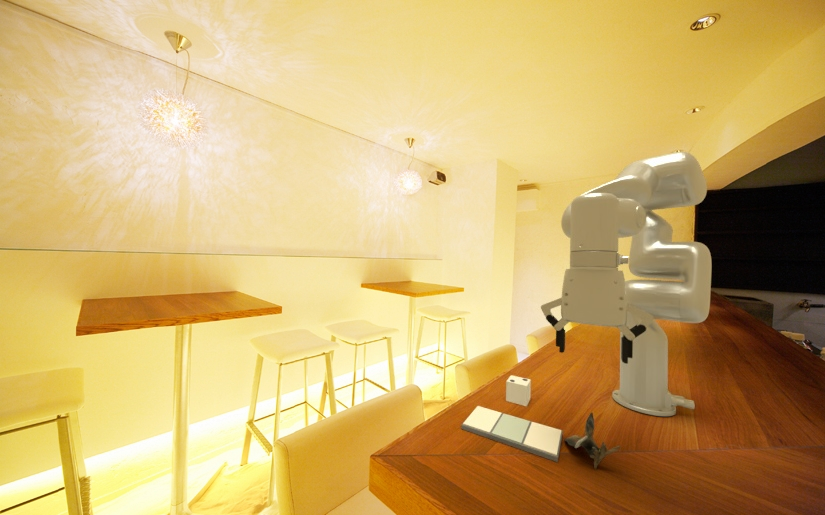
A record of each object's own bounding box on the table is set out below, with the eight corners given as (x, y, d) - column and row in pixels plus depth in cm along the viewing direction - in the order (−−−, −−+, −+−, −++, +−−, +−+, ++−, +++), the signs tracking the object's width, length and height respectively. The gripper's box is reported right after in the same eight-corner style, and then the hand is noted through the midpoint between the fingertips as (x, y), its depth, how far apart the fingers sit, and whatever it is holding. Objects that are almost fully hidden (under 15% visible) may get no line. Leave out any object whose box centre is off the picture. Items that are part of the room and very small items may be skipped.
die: (530, 399, 75) (530, 379, 75) (526, 406, 71) (527, 385, 71) (510, 393, 78) (511, 374, 78) (505, 401, 73) (506, 380, 74)
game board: (562, 434, 59) (562, 429, 59) (557, 462, 51) (557, 456, 51) (477, 409, 69) (477, 404, 69) (461, 428, 60) (461, 423, 60)
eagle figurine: (631, 465, 49) (601, 426, 57) (612, 432, 48) (584, 397, 57) (589, 484, 50) (566, 442, 59) (569, 451, 49) (548, 414, 58)
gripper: (650, 263, 52) (649, 360, 51) (544, 261, 61) (543, 343, 60) (658, 262, 45) (657, 372, 45) (539, 260, 55) (537, 352, 54)
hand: (591, 355), depth 53 cm, fingers open, 9 cm apart
